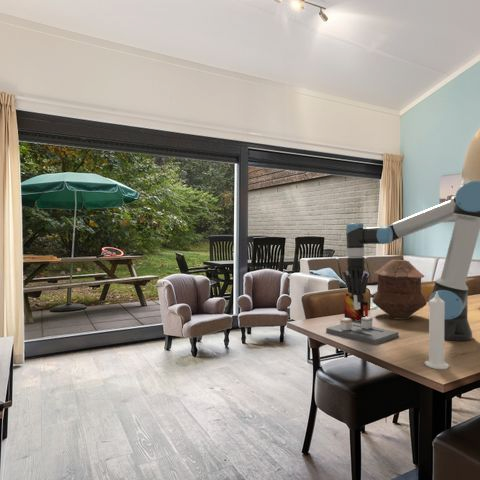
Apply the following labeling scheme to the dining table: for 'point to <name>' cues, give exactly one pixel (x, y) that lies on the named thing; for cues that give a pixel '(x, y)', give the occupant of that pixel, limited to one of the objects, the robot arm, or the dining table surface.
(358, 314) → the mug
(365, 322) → the fader
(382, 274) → the pottery vessel
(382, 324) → the dining table surface
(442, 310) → the candle
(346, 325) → the fader
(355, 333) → the console
